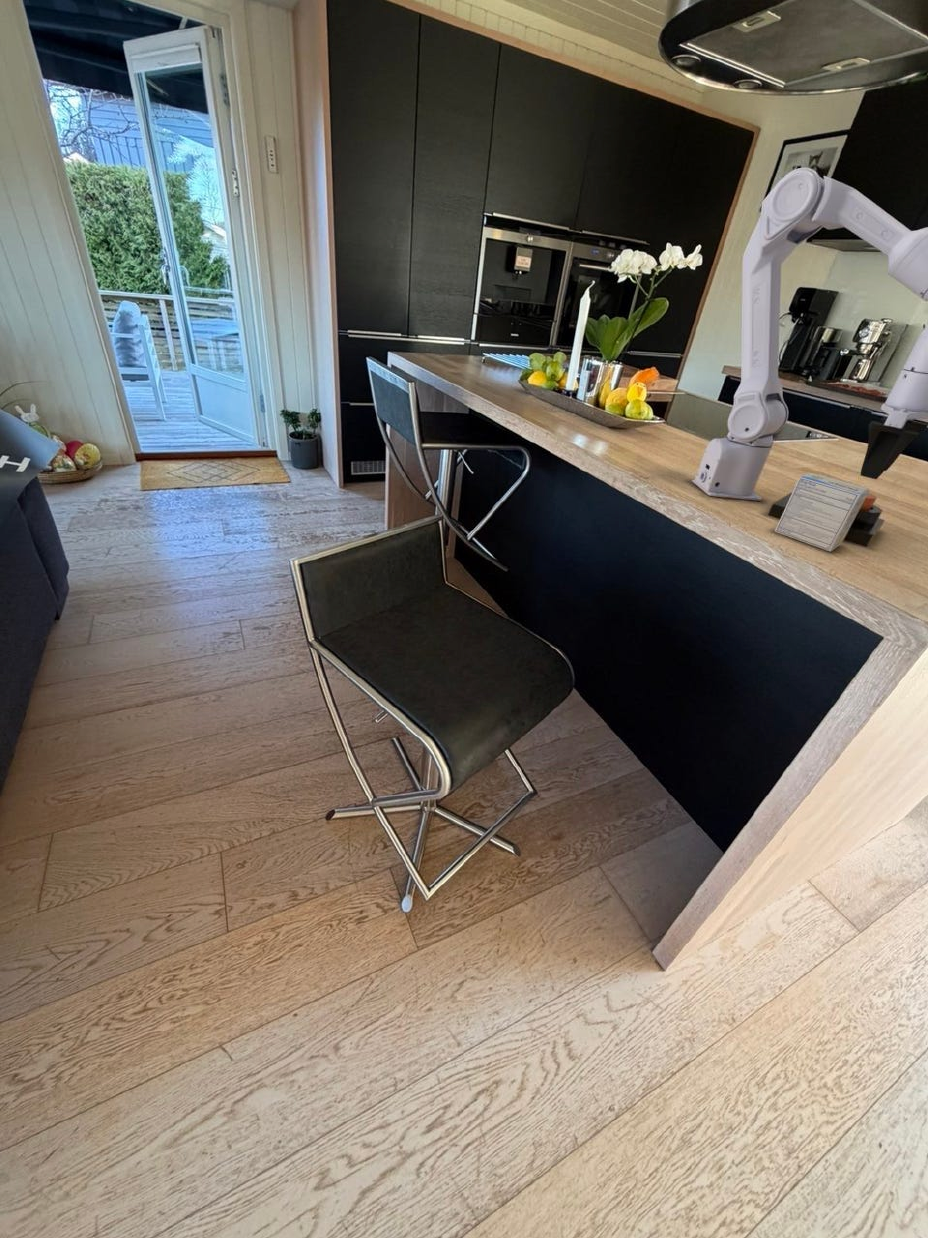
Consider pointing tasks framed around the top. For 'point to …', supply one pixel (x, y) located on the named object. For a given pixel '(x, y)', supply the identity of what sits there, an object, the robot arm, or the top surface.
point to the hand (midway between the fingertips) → (873, 473)
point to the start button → (868, 502)
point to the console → (858, 532)
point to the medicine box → (821, 510)
